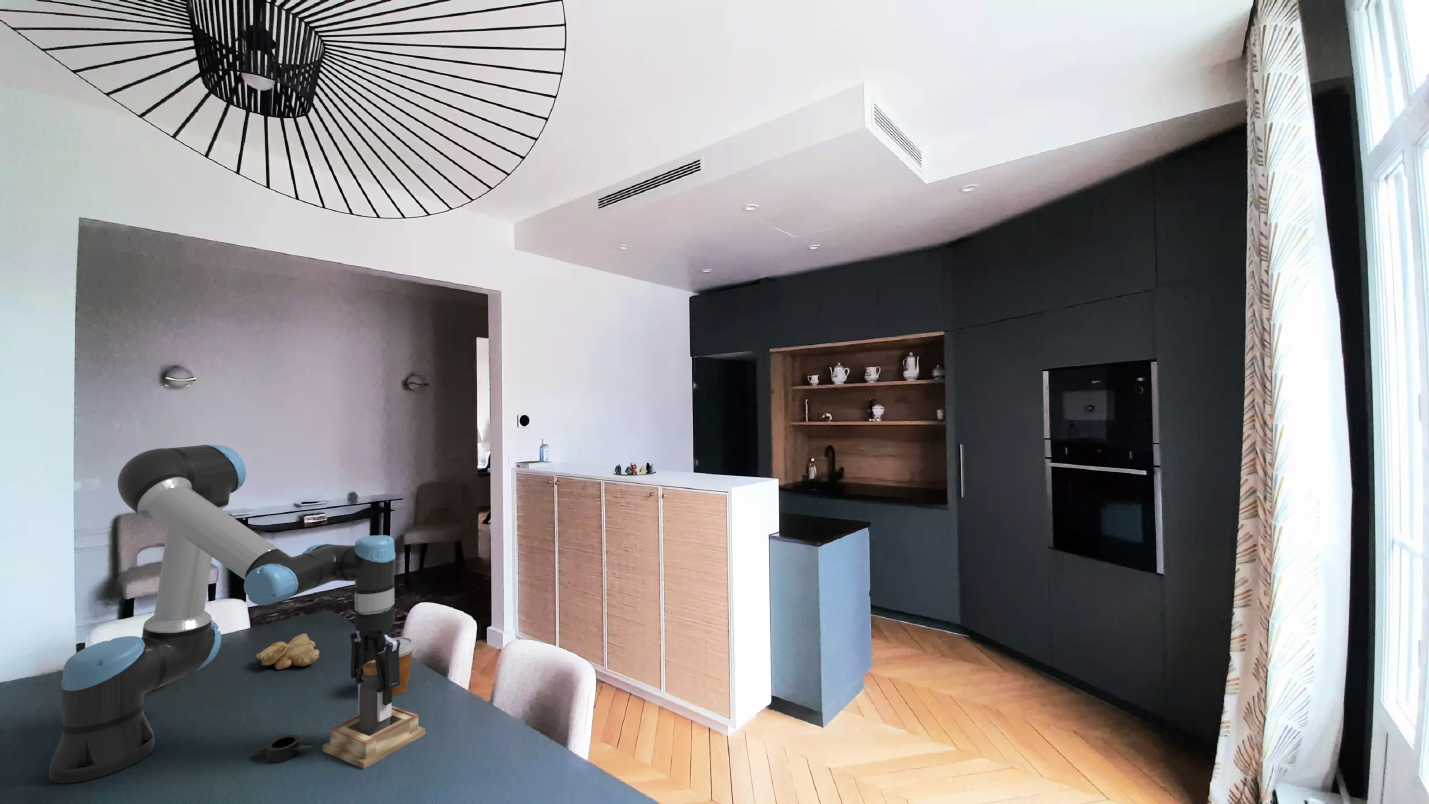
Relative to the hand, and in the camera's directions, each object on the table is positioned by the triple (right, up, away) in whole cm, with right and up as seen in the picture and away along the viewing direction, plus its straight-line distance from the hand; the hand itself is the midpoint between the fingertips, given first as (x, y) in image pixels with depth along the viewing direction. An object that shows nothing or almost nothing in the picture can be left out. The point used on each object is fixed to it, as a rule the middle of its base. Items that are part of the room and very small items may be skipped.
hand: (374, 714), depth 128 cm
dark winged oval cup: (-16, -6, -5) cm, 18 cm away
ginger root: (-47, -7, +39) cm, 61 cm away
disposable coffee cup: (-8, -6, +23) cm, 25 cm away
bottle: (0, -4, 0) cm, 4 cm away
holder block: (0, -6, 0) cm, 6 cm away
